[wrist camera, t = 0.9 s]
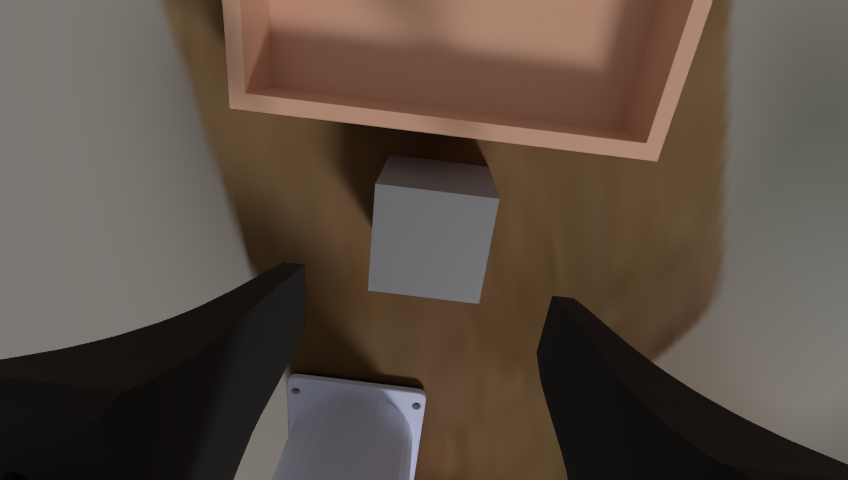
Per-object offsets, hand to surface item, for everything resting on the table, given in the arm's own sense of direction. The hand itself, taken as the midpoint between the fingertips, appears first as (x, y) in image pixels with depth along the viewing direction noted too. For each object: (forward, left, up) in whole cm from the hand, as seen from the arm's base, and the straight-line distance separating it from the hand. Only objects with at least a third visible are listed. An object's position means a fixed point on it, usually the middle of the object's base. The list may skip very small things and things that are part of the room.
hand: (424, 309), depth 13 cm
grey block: (0, 0, -9) cm, 9 cm away
